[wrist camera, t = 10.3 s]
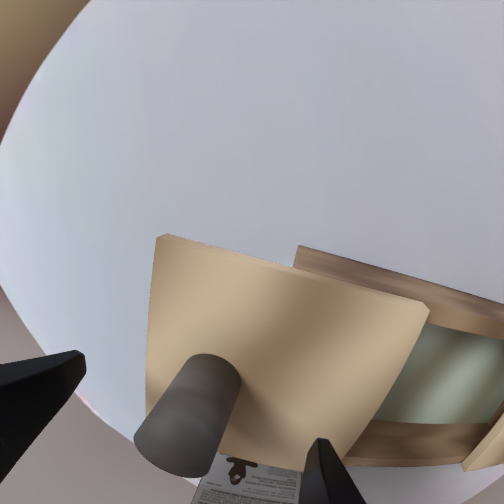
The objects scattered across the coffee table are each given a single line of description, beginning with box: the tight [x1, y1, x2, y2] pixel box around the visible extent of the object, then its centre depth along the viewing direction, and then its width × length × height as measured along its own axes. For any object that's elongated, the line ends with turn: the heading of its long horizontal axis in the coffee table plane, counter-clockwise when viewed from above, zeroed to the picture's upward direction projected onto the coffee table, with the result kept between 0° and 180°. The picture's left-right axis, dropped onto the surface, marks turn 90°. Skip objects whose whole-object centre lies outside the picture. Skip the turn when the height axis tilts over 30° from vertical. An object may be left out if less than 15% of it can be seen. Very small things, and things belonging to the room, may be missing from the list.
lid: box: [134, 234, 430, 478], centre depth 9 cm, size 10×10×5 cm
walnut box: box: [292, 245, 504, 467], centre depth 12 cm, size 20×10×4 cm, turn 77°
